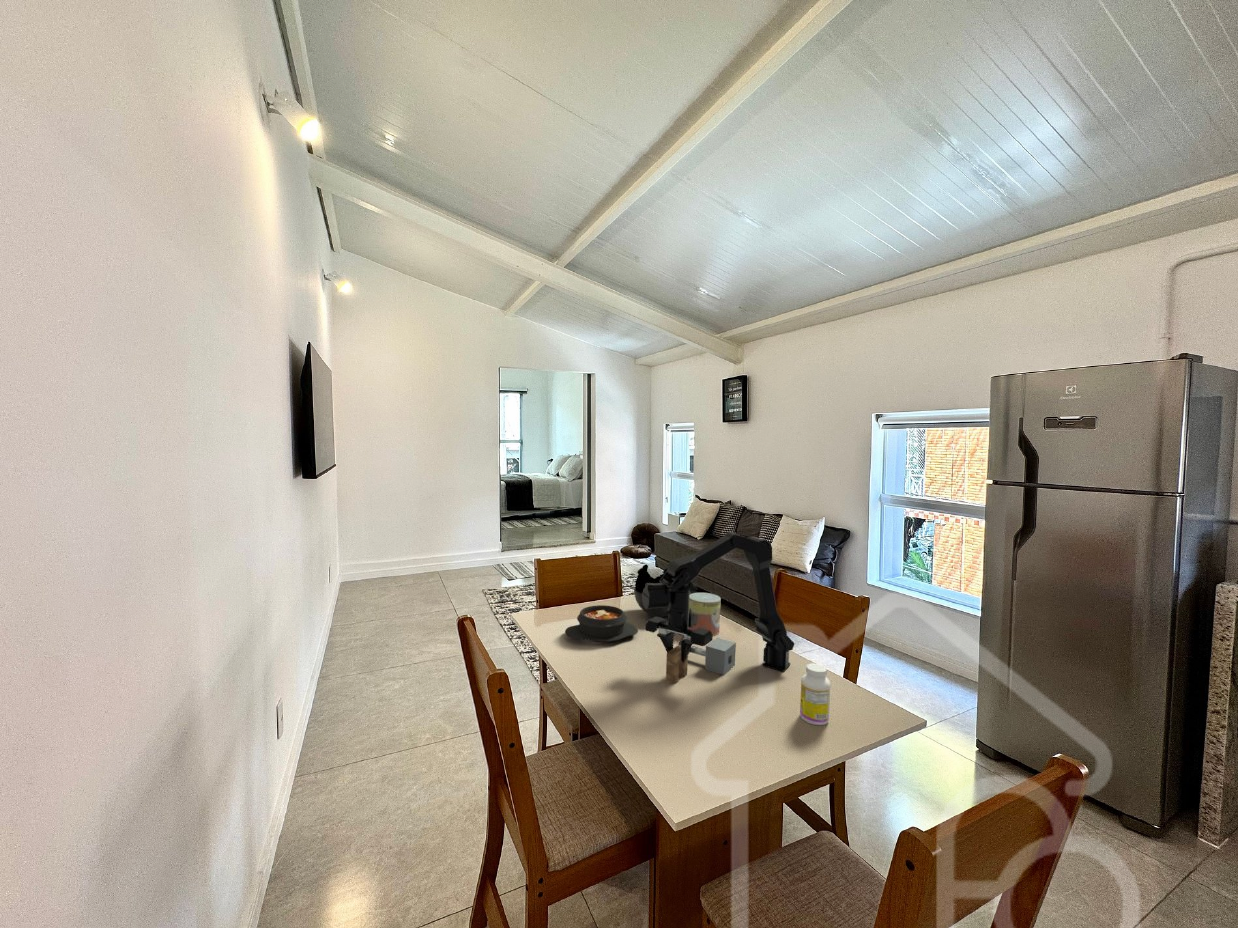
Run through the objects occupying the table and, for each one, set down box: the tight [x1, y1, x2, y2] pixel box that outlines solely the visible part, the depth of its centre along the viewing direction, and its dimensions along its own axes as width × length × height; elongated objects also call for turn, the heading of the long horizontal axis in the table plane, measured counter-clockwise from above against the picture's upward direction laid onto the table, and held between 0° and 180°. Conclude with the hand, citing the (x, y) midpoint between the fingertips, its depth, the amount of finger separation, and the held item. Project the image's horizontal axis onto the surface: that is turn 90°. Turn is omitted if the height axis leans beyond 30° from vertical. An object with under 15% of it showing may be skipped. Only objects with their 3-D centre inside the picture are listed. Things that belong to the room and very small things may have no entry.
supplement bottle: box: [799, 663, 831, 726], centre depth 124 cm, size 7×7×13 cm
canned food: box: [689, 592, 722, 637], centre depth 180 cm, size 11×11×12 cm
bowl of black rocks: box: [633, 563, 674, 618], centre depth 194 cm, size 20×20×19 cm
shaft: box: [678, 637, 706, 657], centre depth 155 cm, size 13×5×5 cm, turn 55°
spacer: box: [665, 644, 689, 685], centre depth 143 cm, size 3×7×8 cm, turn 145°
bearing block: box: [704, 637, 737, 676], centre depth 151 cm, size 6×8×7 cm
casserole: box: [564, 604, 639, 643], centre depth 172 cm, size 25×19×8 cm
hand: (677, 660), depth 143 cm, fingers open, 4 cm apart
